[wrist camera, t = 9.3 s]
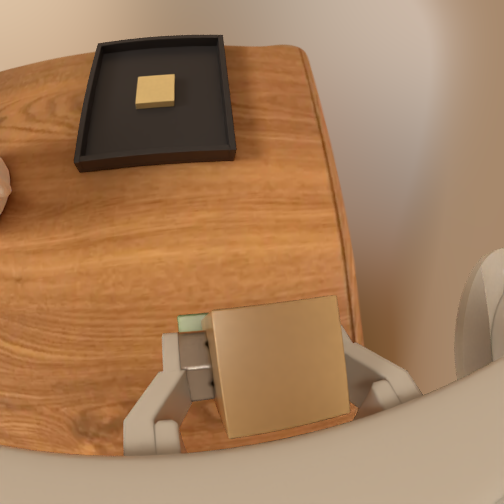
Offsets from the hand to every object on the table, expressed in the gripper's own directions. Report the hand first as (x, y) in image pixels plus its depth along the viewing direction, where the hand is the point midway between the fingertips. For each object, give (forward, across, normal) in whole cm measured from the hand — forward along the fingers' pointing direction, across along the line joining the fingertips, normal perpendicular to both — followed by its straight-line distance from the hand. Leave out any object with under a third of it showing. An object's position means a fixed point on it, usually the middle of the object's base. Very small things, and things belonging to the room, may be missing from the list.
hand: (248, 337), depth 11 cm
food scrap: (+28, +4, -6) cm, 29 cm away
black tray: (+29, +4, -6) cm, 30 cm away
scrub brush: (+3, 0, +4) cm, 5 cm away
